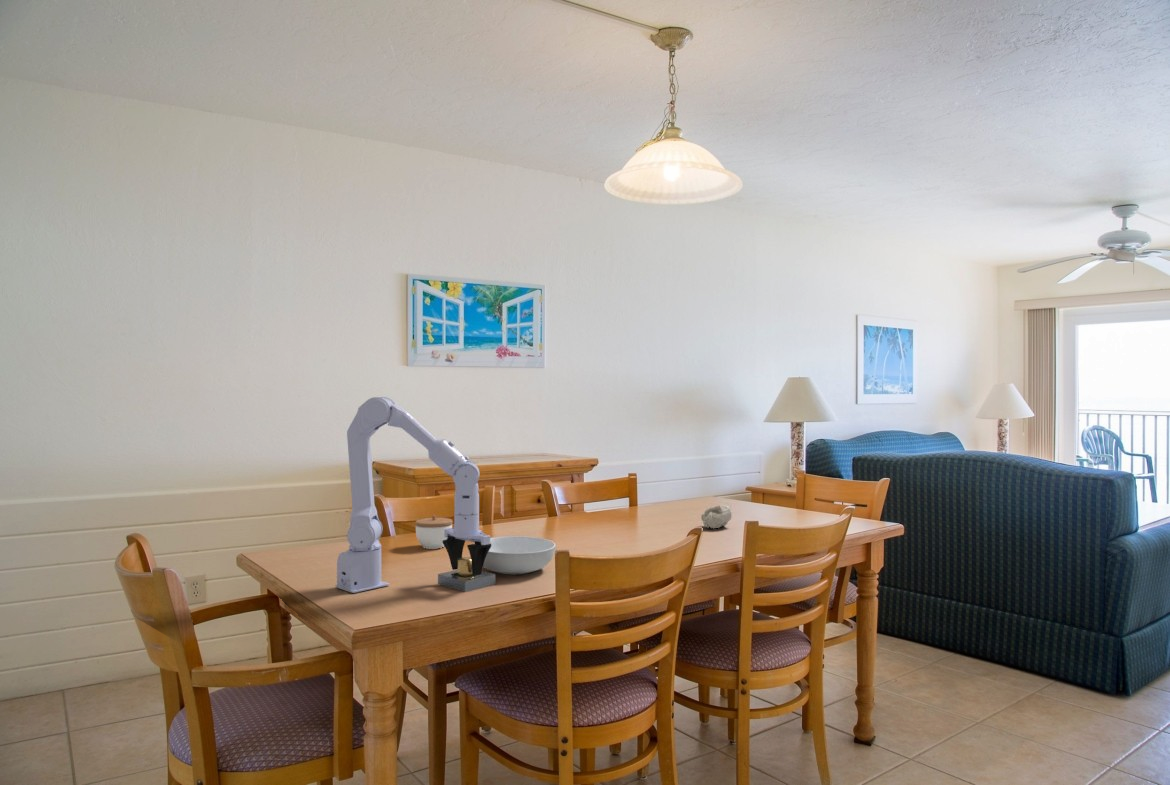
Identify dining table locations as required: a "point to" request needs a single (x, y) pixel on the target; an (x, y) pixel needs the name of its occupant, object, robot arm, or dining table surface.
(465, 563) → the brass cylinder
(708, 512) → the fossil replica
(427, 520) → the lidded jar
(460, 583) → the frame
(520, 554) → the serving bowl
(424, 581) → the dining table surface
